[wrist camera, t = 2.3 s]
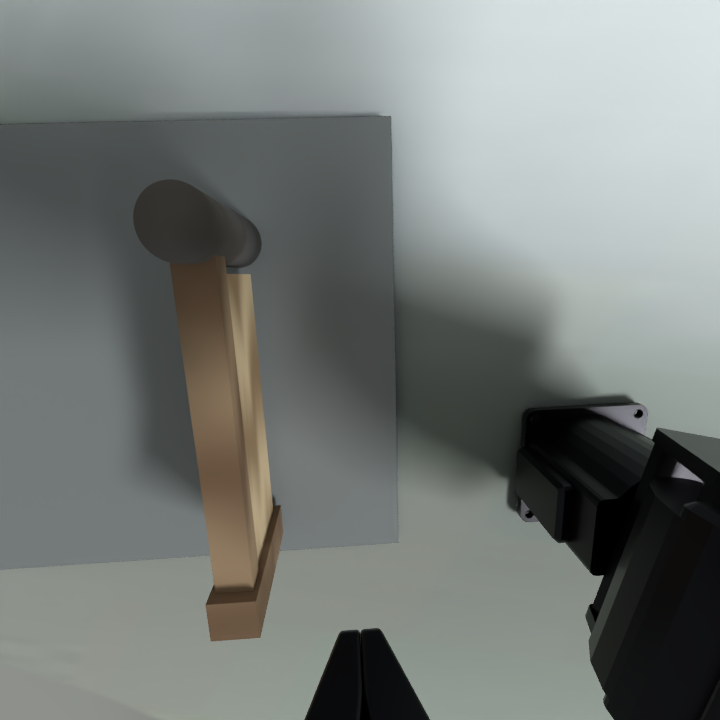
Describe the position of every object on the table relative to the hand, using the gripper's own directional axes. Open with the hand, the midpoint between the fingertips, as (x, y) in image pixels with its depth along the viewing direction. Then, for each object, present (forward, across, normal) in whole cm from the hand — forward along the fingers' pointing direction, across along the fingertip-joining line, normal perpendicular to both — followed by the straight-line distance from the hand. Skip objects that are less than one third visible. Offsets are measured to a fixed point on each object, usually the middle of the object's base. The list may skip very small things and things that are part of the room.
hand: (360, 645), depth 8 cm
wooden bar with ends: (+12, +5, -2) cm, 13 cm away
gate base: (+12, +10, -4) cm, 16 cm away
